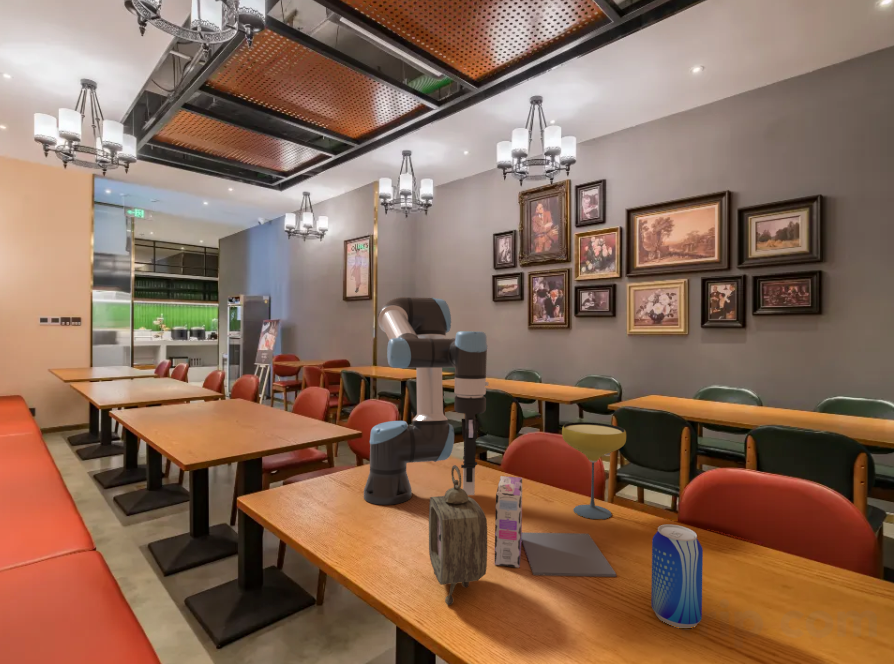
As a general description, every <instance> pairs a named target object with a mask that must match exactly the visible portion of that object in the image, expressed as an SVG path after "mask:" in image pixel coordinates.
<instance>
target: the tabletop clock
mask: <svg viewBox="0 0 894 664" xmlns="http://www.w3.org/2000/svg"><path fill="white" fill-rule="evenodd" d="M454 471H456V473H457V476H458V479H455V475H454ZM450 473H451V474H450V475H451V481H452V484H453V487H451V488H448V489H447V490H446V491H445V493H444V495H441V496H439V495H438V496H430V497H429V505H428V506H429V509H428V511H429V512H428V553H429V560H430V564H431V565H432V569H433V574H434V575H435V577H436V580H437V581H438V584H439V585H443V586H444V585H450V588H449V593H448V594H449V595H447V596H445V599H444V601H445V605H447V606H451V605H453V603H454V597H453V596H452V595H453V593H454V591H455V588H456V585H457V584H459V583H461V586H462V588H468V587H469V585H470V582H475V581H476V582H477V581H479V580H481V578H483V577H484V576H485V575H486V574H487V573H486V572H487V569H488V568H487V566H488V521H487V516H486V514H485V512H484V510H483V509H482V507H481V506H480V504H479V503H478V502H477V501H476V500H475V499H474V498H472V497H471V496H469V495H467V493H466V492H465V491H464V490H463V488H461V487H462V473H461V470H460V468H459V467H458V466H457V465H456V464H453V465H452V467H451V472H450Z"/></svg>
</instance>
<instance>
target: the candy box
mask: <svg viewBox="0 0 894 664" xmlns="http://www.w3.org/2000/svg"><path fill="white" fill-rule="evenodd" d="M494 514H495V516H494V517H495V518H494V519H495V523H494V525H495V526H494V528H495V529H494V565H496V566H502V567H511V568H520V566H521V553H522V541H521V539H522V529H523V527H522V526H523V525H522V523H523V520H522V519H523V477H516V476H508V475H507V476H505V475H504V476H503V475H500V477H499V481H498V485H497V489H496V493H495V512H494Z"/></svg>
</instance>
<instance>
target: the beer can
mask: <svg viewBox="0 0 894 664" xmlns="http://www.w3.org/2000/svg"><path fill="white" fill-rule="evenodd" d="M703 551H704V549H703V546H702V544H701V543H700V541H699V540H698V535H697V533H696V531H694V530H692V529H691V528H688V527H686V526H682V525H678V524H662V525H659V526H658V527H657V531H656V532H655V534H654V535H653V537H652V541H651V597H650V598H651V601H650V602H651V603H650V604H651V608H652V610H653V612H654V613H655V616H656V617H657V618H658V619H659V620H660V621H661V622H662V621H663V622H662V623H664V622H665V623H667V624H669V625H672V626H675V627H679V628H691V627H694V626H695V627H696V626H697V625H698V624H699V623H700V622H701V621H702V618H703V565H704V564H703V562H704V561H703V559H704V558H703V554H704V553H703ZM665 623H664V624H665ZM667 624H666V625H667ZM669 625H668V626H669ZM672 626H671V627H672ZM675 627H674V628H675ZM695 627H694V628H695ZM679 628H678V629H679Z"/></svg>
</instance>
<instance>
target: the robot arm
mask: <svg viewBox="0 0 894 664" xmlns="http://www.w3.org/2000/svg"><path fill="white" fill-rule="evenodd" d="M377 324H378V326H379V328H380V330H381V331H382V332H383V333H385V334H386V336H387V339H388V342H387V350H386V352H387V354H386V356H387V363H388V366H389V367H391V368H396V369H397V368H399V369H403V370H405V369H416V415H415V416H414V417H413V418H412V424H411V425H409V424H408V423H407V421H405V420H391V421H385V422H381V423H378V424H376V425H374V426H373V427H372V428H371V430H370V437H369V446H370V447H369V451H370V452H369V473H368V476H367V479H366V483H365V486H364V489H363V500H364V501H366V502H368V503H370V504H373V505H382V506H389V505H390V506H391V505H398V504H402V503H406V502H408V501H409V500H410V499H411V498H412V495H413V494H412V492H413V491H412V486H411V483H410V479H409V476H408V473H407V464H409V463H413V464H414V463H423V462H424V463H426V462H427V463H428V462H435V463H436V462H440V461H446V460H448V459H449V458H450V457H451V455H452V452H453V449H454V446H455V445H454V443H455V431H454V427H453V425H452V424H450V423H449V422H448V421H449V419H448V418H447V416H445V414H444V402H443V401H444V400H443V394H444V393H443V369H445V368H446V369H447V368H448V369H449V368H451V369H452V368H454V394H455V395H456V396H454V406H453V407H454V408H453V409H454V411H455V412H456V413H458V414H464V418H461V428H462V433H461V434H462V439H463V456H462V459H463V461H462V462H463V464H460V469H463V470H462V471H463V472H462V474H463V475H462V480H463V481H462V489H463V490H464V491H465V492H466V493H467V495H468V496H475V494H476V493H475V487H476V486H475V485H476V483H475V481H476V480H475V478H476V466H478V462H477V461H476V451H477V449H476V447H477V439H478V429H479V419H478V418H476V415H477V414H479V415H480V414H484V413H485V412H486V409H487V397H485V396H484V395H486V393H487V386H489V382H488V381H487V361H488V360H487V357H488V356H487V355H488V352H487V351H488V342H487V333H486V332H484V331H471V330H469V331H466V330H465V331H463V330H462V331H461V330H460V331H459V330H458V331H457V332H456V334H455V337H454V338H453V337H452V338H446V337H447V336H446V335H447V333H449V332H451V327H452V325H451V324H452V315H451V310H450V307H449V305H448V302H447V301H446V300H444V299H442V298H435V297H411V296H410V297H406V296H400V297H396V298H395V297H394V298H392V299H390V300H388V301H387V302H385V303H384V304H383V305H382V306H381V307H380V308H379V310H378V312H377Z"/></svg>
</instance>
